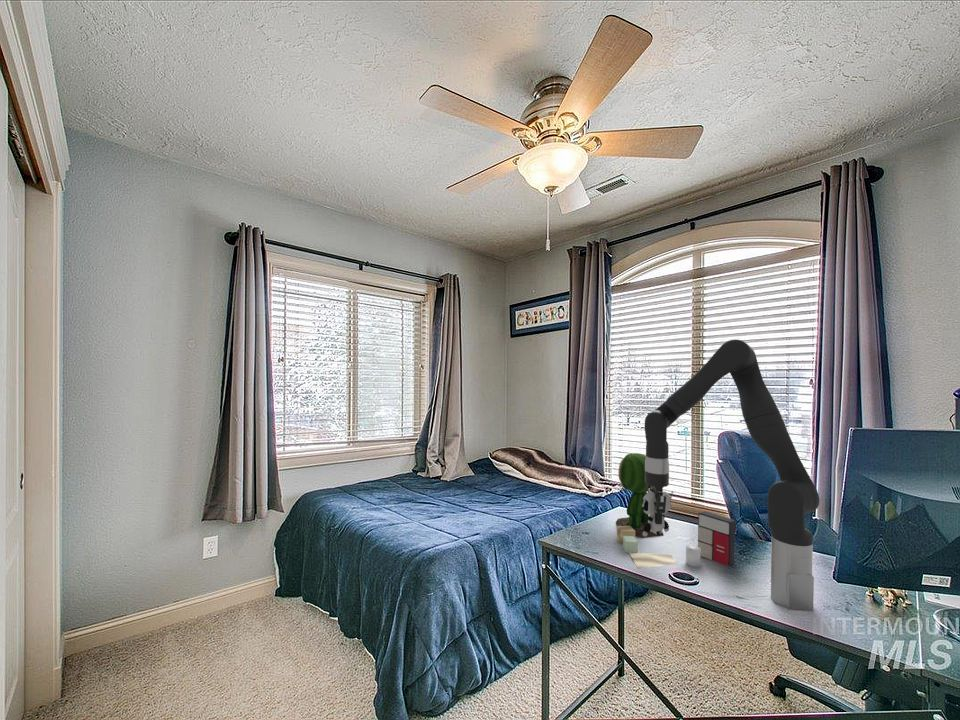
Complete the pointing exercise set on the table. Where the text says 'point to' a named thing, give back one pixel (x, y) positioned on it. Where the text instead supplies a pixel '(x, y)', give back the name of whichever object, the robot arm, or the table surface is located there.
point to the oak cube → (624, 532)
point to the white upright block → (693, 555)
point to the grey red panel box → (716, 537)
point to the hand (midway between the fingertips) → (655, 520)
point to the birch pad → (651, 560)
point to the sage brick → (630, 544)
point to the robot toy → (650, 510)
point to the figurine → (634, 493)
